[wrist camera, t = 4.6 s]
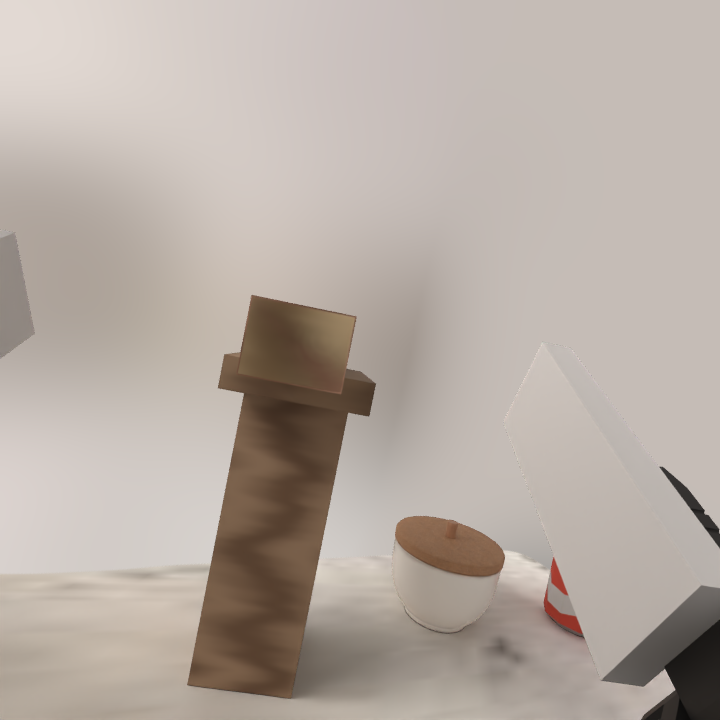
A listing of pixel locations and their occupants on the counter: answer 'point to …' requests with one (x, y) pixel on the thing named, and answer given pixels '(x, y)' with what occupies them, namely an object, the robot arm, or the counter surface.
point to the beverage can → (560, 603)
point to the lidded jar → (444, 572)
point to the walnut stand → (271, 530)
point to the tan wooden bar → (296, 345)
